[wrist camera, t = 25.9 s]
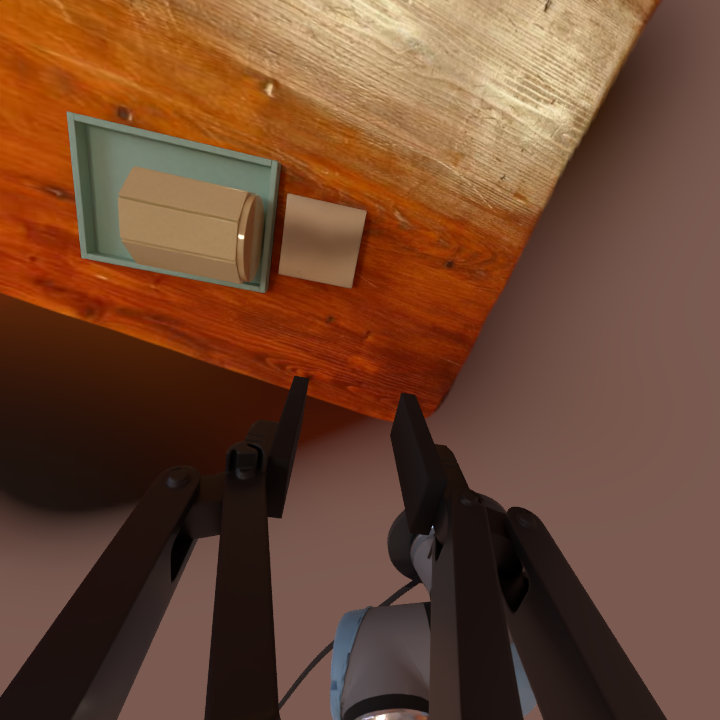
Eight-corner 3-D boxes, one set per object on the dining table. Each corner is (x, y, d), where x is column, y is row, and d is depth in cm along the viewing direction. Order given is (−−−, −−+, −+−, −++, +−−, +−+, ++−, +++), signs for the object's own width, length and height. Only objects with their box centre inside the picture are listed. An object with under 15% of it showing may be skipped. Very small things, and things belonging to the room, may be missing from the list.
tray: (281, 163, 36) (277, 161, 34) (268, 289, 41) (264, 293, 39) (81, 116, 33) (66, 111, 32) (93, 255, 38) (81, 257, 37)
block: (351, 283, 41) (351, 288, 38) (282, 269, 40) (278, 274, 37) (365, 211, 38) (366, 211, 35) (291, 194, 37) (287, 193, 34)
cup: (247, 191, 29) (115, 161, 27) (240, 291, 32) (121, 268, 31) (268, 195, 36) (165, 172, 35) (260, 275, 39) (166, 256, 38)
